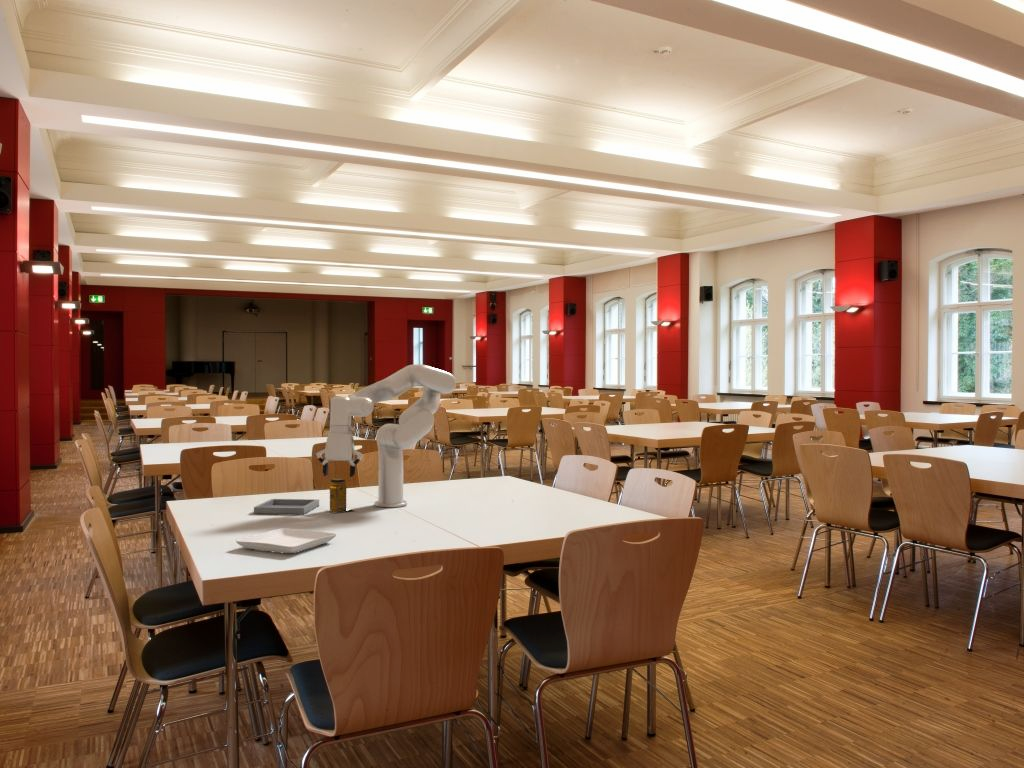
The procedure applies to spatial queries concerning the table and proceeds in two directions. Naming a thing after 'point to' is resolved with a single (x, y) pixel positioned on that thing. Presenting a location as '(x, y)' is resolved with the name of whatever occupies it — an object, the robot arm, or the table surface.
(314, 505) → the tray
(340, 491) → the condiment
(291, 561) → the table surface
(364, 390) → the robot arm
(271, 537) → the salad plate
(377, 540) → the table surface
